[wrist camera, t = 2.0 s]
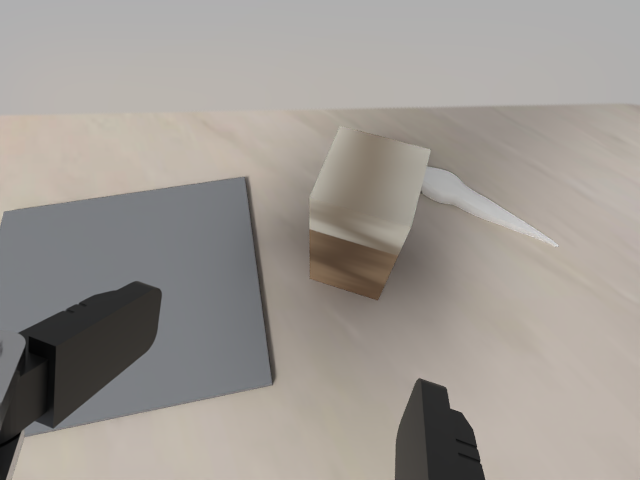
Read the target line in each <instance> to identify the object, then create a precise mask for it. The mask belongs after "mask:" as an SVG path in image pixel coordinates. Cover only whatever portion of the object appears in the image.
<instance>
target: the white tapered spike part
mask: <svg viewBox="0 0 640 480" xmlns="http://www.w3.org/2000/svg"><path fill="white" fill-rule="evenodd" d="M421 191H422V194H424V195H425V196H427V197H428V198H430V199H432V200H434V201H436V202H438V203H443V204H451V205H455V206H457V207H459V208H460V209H462V210H464V211H466V212H468V213H470V214H472V215H475V216H477V217H479V218H482V219H484V220H487V221H490V222H492V223H495V224H498V225H501V226H504V227H506V228H509V229H511V230H514V231H517V232H520V233H523V234H526V235H528V236H531V237H534V238H536V239H539V240H541V241H544V242H546V243H549V244H551V245H553V246H556V247H558V244H556V243H555V242H554V241H553V240H551V239H550V238H548V237H547V236H545V235H544V234H542V233H541V232H539V231H538V230H536V229H535V228H533V227H532V226H530V225H529V224H527V223H526V222H524V221H523V220H521V219H519V218H518V217H516V216H514V215H513V214H511V213H509V212H508V211H506V210H505V209H503V208H502V207H500V206H498V205H497V204H495V203H494V202H492V201H491V200H489V199H487V198H486V197H484V196H482V195H480V194H478V193H477V192H475V191H474V190H472V189H470V188H469V187H467V186H466V185H465V184H464V183H463V182H462V181H461V180H460V179H459V178H458V177H457V176H456V175H454V174H453V173H451V172H449V171H446V170H443V169H438V168H433V167H429V166H427V167H426V171H425V175H424V179H423V183H422V187H421Z"/></svg>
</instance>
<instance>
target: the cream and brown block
mask: <svg viewBox="0 0 640 480" xmlns="http://www.w3.org/2000/svg"><path fill="white" fill-rule="evenodd" d="M430 152H431V149H427V148H424V147H420V146H416V145H412V144H408V143H404V142H400V141H397V140H393V139H389V138H385V137H381V136H377V135H373V134H370V133H366V132H362V131H358V130H354V129H350V128H346V127H342V126H340V127H339V129H338V131H337V134H336V136H335V138H334V141H333V143H332V145H331V148H330V150H329V152H328V155H327V157H326V159H325V162H324V164H323V166H322V169H321V171H320V173H319V176H318V178H317V180H316V183H315V185H314V187H313V190H312V192H311V194H310V197H309V234H310V279H313V280H316V281H319V282H322V283H325V284H328V285H331V286H334V287H337V288H341V289H344V290H347V291H350V292H353V293H356V294H359V295H362V296H366V297H369V298H372V299H375V300H378V299H379V297H380V294H381V292H382V290H383V288H384V286H385V283H386V281H387V279H388V277H389V275H390V273H391V270H392V268H393V266H394V264H395V262H396V260H397V257H398V255H399V253H400V251H401V249H402V246H403V244H404V242H405V240H406V238H407V236H408V233H409V231H410V229H411V227H412V223H413V219H414V215H415V211H416V207H417V203H418V199H419V195H420V191H421V187H422V183H423V179H424V175H425V171H426V167H427V164H428V160H429V156H430Z"/></svg>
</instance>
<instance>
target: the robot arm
mask: <svg viewBox="0 0 640 480" xmlns="http://www.w3.org/2000/svg"><path fill="white" fill-rule="evenodd" d="M161 300H162V292H161V290H160V289H159V288H157V287H154V286H151V285H148V284H145V283H142V282H139V281H134V282H132V283H130V284H128V285H126V286H124V287H122V288H120V289H118V290H116V291H115V290H113V291H109V292H104V293H100V294H96V295H93V296H91V297H89V298H87V299H85V300H83V301H81V302H79V304H75V305H73V306H71V307H69V308H67V309H66V311H61V312H59V313H57V314H55V315H53V316H51V317H49V318H47V319H45V320H43V321H41V322H39V323H37V324H35V325H33V326H31V327H29V328H27V329H25V330H23V331H21V332H19V333H16V332H12V331H7V330H0V480H12V477H13V474H14V470H15V467H16V464H17V461H18V457H19V454H20V451H21V448H22V444H23V441H24V437H25V428H26V427H27V426H29V425H30V424H31V423H33V422H34V421H36V422H38V423H41V424H43V425H45V426H48V427H50V428H55V427H56V426H57V425H58V424H59V423H61V422H62V421H63V420H64V419H66V418H67V417H68V416H69V415H70V414H72V413H73V412H74V411H75V410H77V409H78V408H79V407H80V406H81V405H83V404H84V403H85V402H86V401H87V400H89V399H90V398H91V397H92V396H94V395H95V394H96V393H97V392H98V391H100V390H101V389H102V388H103V387H105V386H106V385H107V384H108V383H109V382H111V381H112V380H113V379H114V378H116V377H117V376H118V375H119V374H120V373H122V372H123V371H124V370H125V369H126V368H128V367H129V366H130V365H131V364H133V363H134V362H135V361H136V360H137V359H139V358H140V357H141V356H142V355H144V354H145V353H146V352H147V351H148V350H149V349H150V347H151V346H152V344H153V343H154V340H155V338H156V335H157V330H158V323H159V315H160V307H161ZM480 461H481V460H480V456H479V452H478V450H477V444H476V440H475V436H474V432H473V429H472V427H471V426H470V424H469V423H468V421H467V420H466V418H465V417H464V415H463V414H462V413H461V412H458V411H456V410H453V409H450V404H449V399H448V393H447V389H446V387H444V386H441V385H438V384H435V383H432V382H429V381H426V380H423V379H420V378H419V379H418V380H417V381H416V383H415V386H414V388H413V391H412V393H411V396H410V398H409V401H408V404H407V406H406V409H405V411H404V414H403V417H402V419H401V422H400V425H399V429H398V433H397V439H396V458H395V480H485V477H484V473H483V469H482V465H481V464H480Z"/></svg>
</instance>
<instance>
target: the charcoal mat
mask: <svg viewBox="0 0 640 480" xmlns="http://www.w3.org/2000/svg"><path fill="white" fill-rule="evenodd" d="M134 281H139V282H142V283H145V284H148V285H151V286H154V287H157V288H159V289H160V290H161V292H162V300H161V307H160V315H159V323H158V330H157V335H156V338H155V340H154V343H153V344H152V346H151V347H150V349H149V350H148V351H147V352H146V353H145V354H144V355H142V356H141V357H140V358H139V359H137V360H136V361H135V362H134V363H133V364H131V365H130V366H129V367H128V368H126V369H125V370H124V371H123V372H122V373H120V374H119V375H118V376H117V377H116V378H114V379H113V380H112V381H111V382H109V383H108V384H107V385H106V386H105V387H103V388H102V389H101V390H100V391H98V392H97V393H96V394H95V395H94V396H92V397H91V398H90V399H89V400H87V401H86V402H85V403H84V404H83V405H81V406H80V407H79V408H78V409H77V410H75V411H74V412H73V413H72V414H70V415H69V416H68V417H67V418H66V419H64V420H63V421H62V422H61V423H59V424H58V425H57V426H56V427H55V428H50V427H48V426H45V425H43V424H41V423H38V422H36V421H34V422H33V423H31V424H30V425H29V426H27V427H26V428H25V437H27V436H32V435H37V434H42V433H47V432H51V431H56V430H61V429H66V428H71V427H75V426H80V425H85V424H90V423H94V422H99V421H104V420H109V419H114V418H118V417H123V416H128V415H133V414H137V413H142V412H147V411H152V410H157V409H161V408H166V407H171V406H176V405H180V404H185V403H190V402H195V401H200V400H204V399H209V398H214V397H219V396H223V395H228V394H233V393H238V392H243V391H247V390H252V389H257V388H262V387H266V386H271V385H273V383H272V376H271V368H270V361H269V353H268V346H267V338H266V331H265V323H264V316H263V308H262V301H261V294H260V286H259V279H258V271H257V264H256V256H255V249H254V241H253V234H252V226H251V219H250V211H249V204H248V196H247V189H246V181H245V177H240V178H233V179H227V180H220V181H213V182H206V183H199V184H192V185H185V186H178V187H171V188H164V189H157V190H150V191H144V192H137V193H130V194H123V195H116V196H109V197H102V198H95V199H88V200H81V201H74V202H67V203H61V204H54V205H47V206H40V207H33V208H26V209H19V210H12V211H5V212H4V214H3V218H2V222H1V226H0V330H7V331H12V332H16V333H19V332H21V331H23V330H25V329H27V328H29V327H31V326H33V325H35V324H37V323H39V322H41V321H43V320H45V319H47V318H49V317H51V316H53V315H55V314H57V313H59V312H61V311H66V309H67V308H69V307H71V306H73V305H75V304H79V302H81V301H83V300H85V299H87V298H89V297H91V296H93V295H96V294H100V293H104V292H109V291H113V290H115V291H116V290H118V289H120V288H122V287H124V286H126V285H128V284H130V283H132V282H134Z"/></svg>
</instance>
